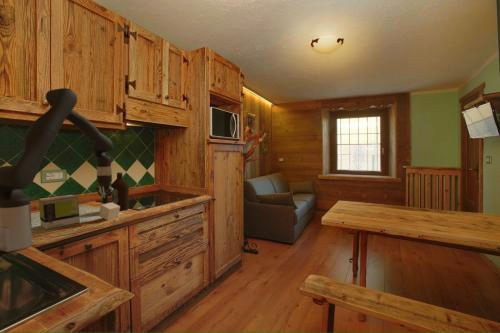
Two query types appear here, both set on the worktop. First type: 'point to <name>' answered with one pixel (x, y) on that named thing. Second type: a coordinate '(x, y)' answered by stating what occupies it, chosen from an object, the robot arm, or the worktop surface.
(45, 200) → the tea box
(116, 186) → the olive oil
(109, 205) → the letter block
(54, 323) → the worktop surface
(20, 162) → the robot arm
